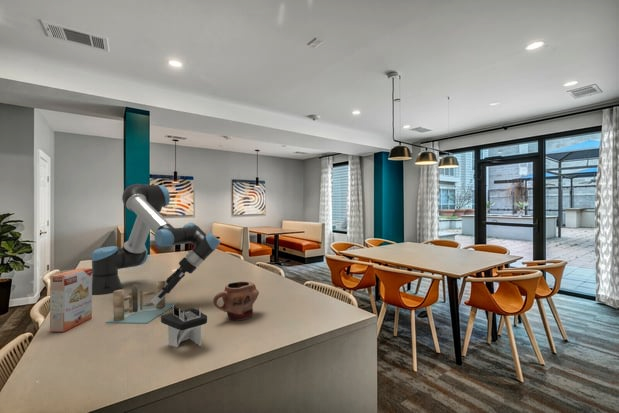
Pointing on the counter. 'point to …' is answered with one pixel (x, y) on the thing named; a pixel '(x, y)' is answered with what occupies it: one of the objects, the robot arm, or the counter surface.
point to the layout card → (143, 314)
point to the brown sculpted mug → (238, 300)
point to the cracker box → (70, 299)
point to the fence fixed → (119, 302)
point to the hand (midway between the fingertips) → (154, 298)
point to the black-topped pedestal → (184, 325)
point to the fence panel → (158, 288)
